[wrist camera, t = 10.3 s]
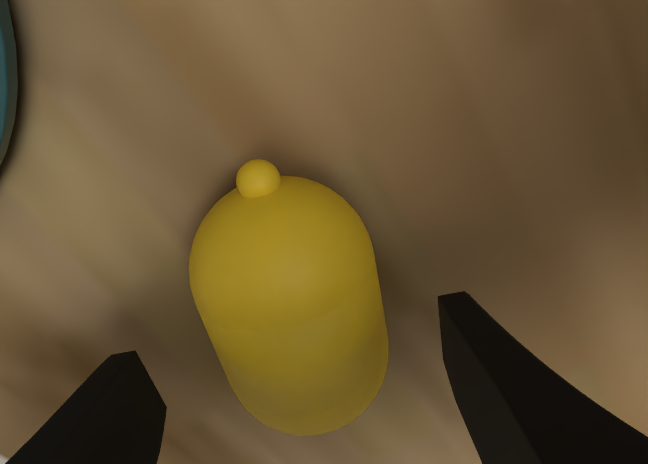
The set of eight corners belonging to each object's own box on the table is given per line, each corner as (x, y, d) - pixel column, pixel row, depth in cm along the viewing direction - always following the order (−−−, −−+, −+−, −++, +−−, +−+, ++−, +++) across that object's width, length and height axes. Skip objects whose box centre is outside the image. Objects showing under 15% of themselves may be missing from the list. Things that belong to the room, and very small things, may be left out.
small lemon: (346, 111, 12) (368, 183, 8) (386, 348, 16) (414, 472, 12) (177, 146, 12) (116, 233, 8) (260, 369, 17) (247, 497, 13)
